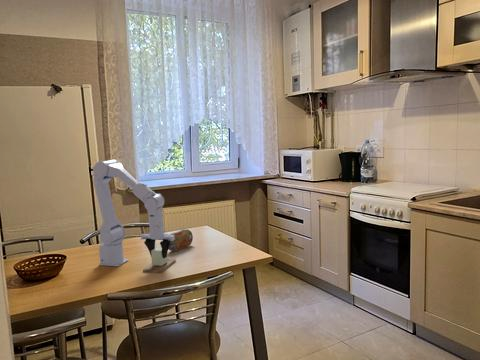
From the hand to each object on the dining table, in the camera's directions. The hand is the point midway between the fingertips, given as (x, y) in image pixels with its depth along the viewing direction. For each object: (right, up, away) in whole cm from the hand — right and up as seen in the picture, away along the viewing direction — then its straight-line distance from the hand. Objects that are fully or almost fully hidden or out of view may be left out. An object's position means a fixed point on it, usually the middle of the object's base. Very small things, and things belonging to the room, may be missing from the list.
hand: (159, 256), depth 157 cm
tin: (+5, -1, +23) cm, 24 cm away
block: (0, -3, 0) cm, 3 cm away
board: (0, -5, +1) cm, 5 cm away
